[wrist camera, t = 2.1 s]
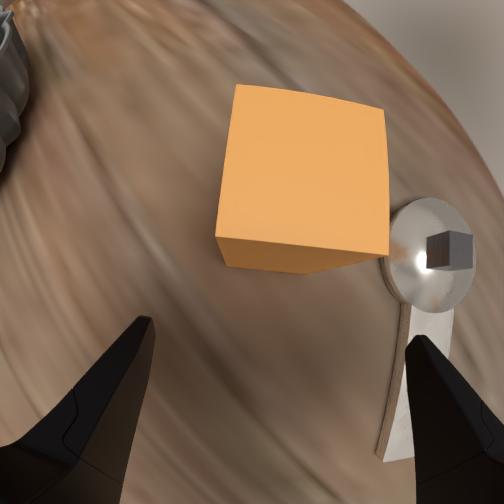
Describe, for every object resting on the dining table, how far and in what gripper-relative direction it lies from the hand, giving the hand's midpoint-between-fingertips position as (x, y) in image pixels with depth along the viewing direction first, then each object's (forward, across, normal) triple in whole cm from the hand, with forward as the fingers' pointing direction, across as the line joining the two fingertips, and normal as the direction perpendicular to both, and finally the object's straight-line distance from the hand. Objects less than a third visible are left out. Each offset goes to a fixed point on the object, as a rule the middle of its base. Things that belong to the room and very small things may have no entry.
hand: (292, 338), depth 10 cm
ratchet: (+8, -13, +9) cm, 18 cm away
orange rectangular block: (+12, 0, +4) cm, 13 cm away
